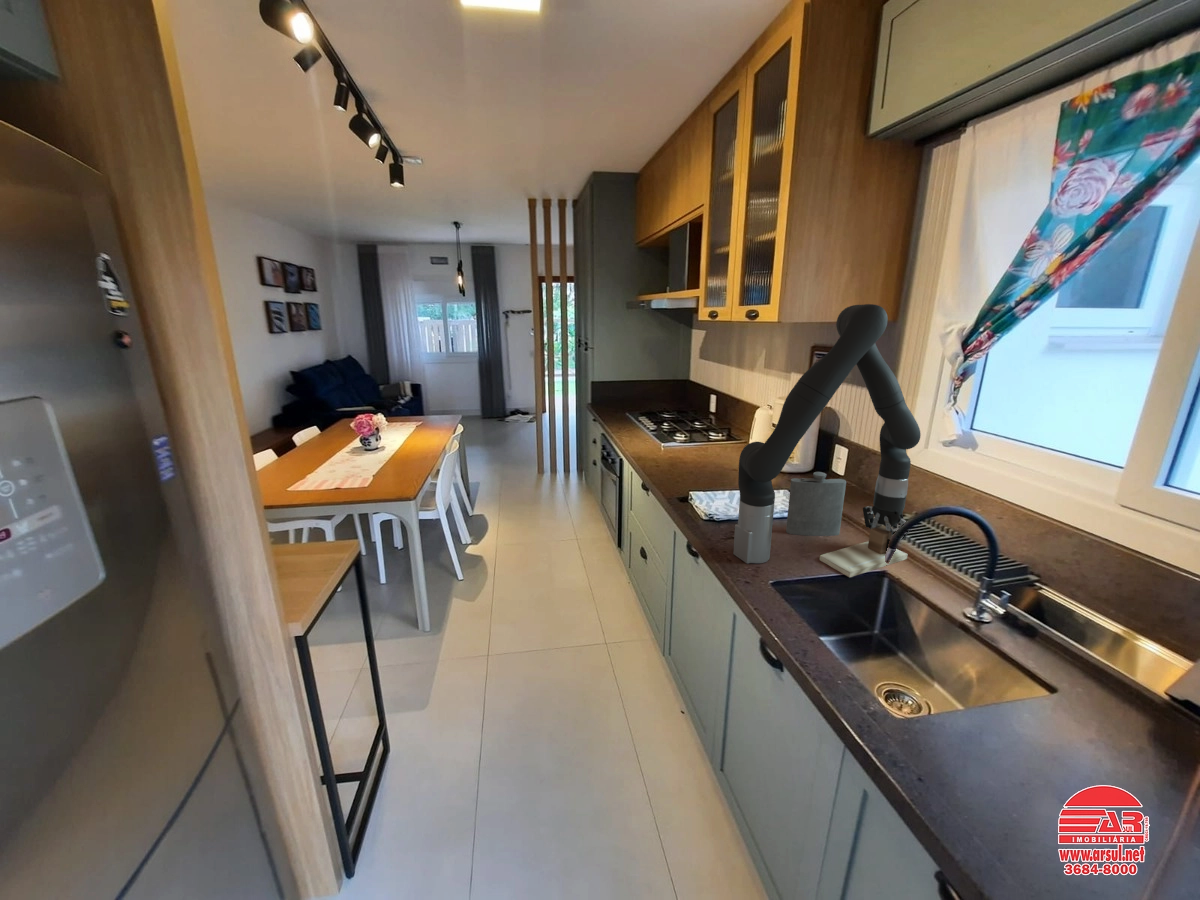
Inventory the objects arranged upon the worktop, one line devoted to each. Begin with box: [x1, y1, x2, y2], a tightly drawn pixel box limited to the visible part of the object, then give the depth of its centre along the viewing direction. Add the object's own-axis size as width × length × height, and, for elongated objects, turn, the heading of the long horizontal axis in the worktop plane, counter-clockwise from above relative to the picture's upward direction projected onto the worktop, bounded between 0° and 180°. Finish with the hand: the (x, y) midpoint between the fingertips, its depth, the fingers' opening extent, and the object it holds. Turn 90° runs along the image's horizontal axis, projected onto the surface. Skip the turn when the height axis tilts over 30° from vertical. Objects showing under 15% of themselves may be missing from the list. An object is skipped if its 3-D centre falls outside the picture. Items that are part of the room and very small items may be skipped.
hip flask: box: [785, 471, 847, 537], centre depth 149 cm, size 16×4×20 cm, turn 84°
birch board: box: [819, 540, 908, 578], centre depth 136 cm, size 22×10×2 cm, turn 113°
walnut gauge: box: [868, 525, 892, 554], centre depth 137 cm, size 6×4×6 cm, turn 113°
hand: (881, 546), depth 138 cm, fingers closed on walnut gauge, 4 cm apart
